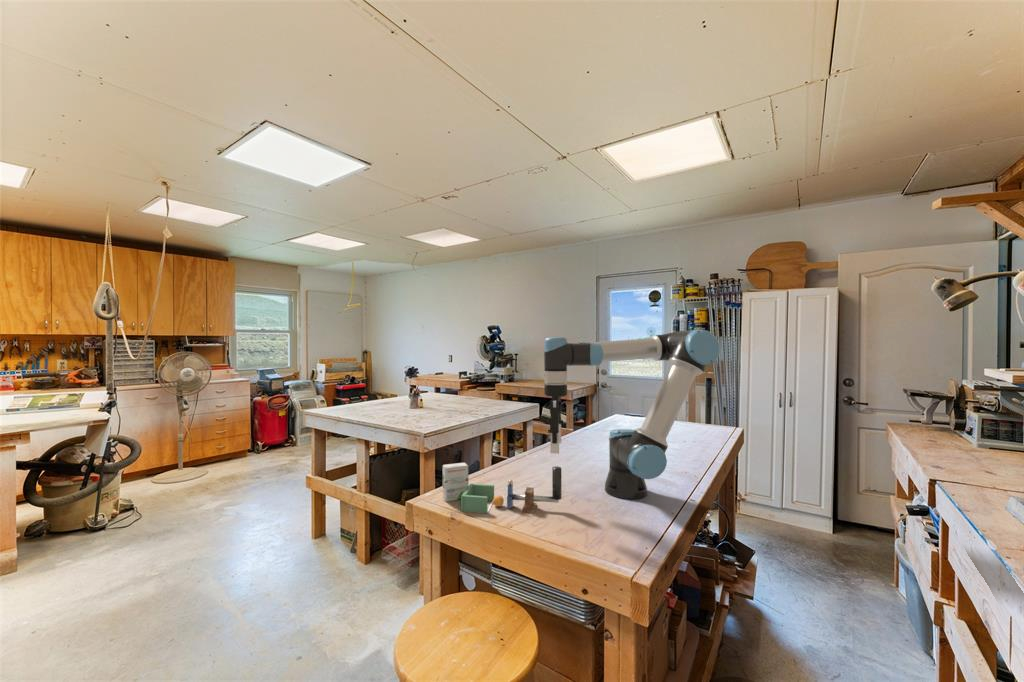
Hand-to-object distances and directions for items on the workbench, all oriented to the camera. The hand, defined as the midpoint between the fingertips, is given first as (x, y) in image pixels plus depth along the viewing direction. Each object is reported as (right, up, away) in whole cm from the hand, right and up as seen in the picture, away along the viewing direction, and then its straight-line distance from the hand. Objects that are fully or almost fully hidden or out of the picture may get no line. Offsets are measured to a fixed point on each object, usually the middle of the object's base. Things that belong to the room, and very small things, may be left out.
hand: (556, 447), depth 130 cm
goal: (-27, -21, +4) cm, 34 cm away
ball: (-19, -19, +3) cm, 27 cm away
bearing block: (-9, -21, +1) cm, 22 cm away
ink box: (-35, -21, +10) cm, 42 cm away
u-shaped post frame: (-7, -21, +1) cm, 22 cm away
